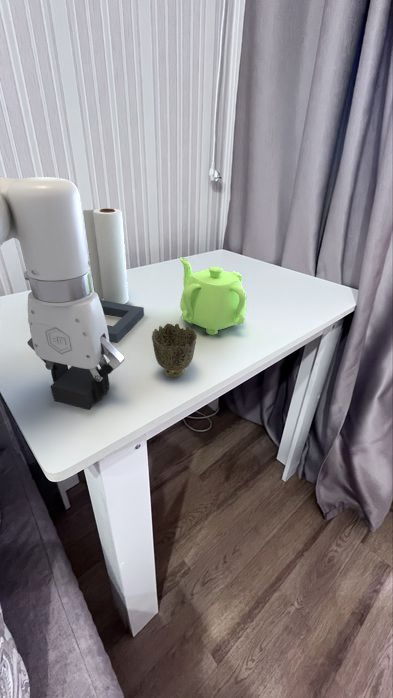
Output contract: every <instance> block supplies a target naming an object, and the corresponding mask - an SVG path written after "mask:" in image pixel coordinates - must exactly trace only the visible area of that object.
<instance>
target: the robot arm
mask: <svg viewBox="0 0 393 698" xmlns="http://www.w3.org/2000/svg"><path fill="white" fill-rule="evenodd" d="M80 195H81V193H80V191H79V188H78V187H77V185H76V184H75V183H73V182H72V181H71V180H70V179H69V180H68V179H65V178H61V177H52V176H30V177H23V178H12V177H5V176H0V247H2V246H3V244H4V243H6V242H8V241H9V240H11V239H17V240H18V242H19V246H20V250H21V253H22V258H23V262H24V267H25V269H26V270H25V271H24V273H23V277H24V279H25V280H26V281H27V282H28V283H29V285H30V286H29V287H30V292H29V293H28V294H27V319H28V326H29V332H30V338H29V340H28V341H26V343H27V345H28V347H30V348H31V349H32V350H33V352H35V354H36V356H37V357H38V358H40V360H42V362H43V363H45V365H44V366H45V368H46V369H47V370H48V371H50V375H51V378H52V384H53V383H54V382H55V381H56V380H57V379H58V378H59V377H61V376H62V375H63V374H64V373H65V372H66V371H67V370H68V369H69V366H70V367H71V366H74V367H79V368H84V369H89V370H90V372H91V374H92V375H93V377H94V378H93V380H92V381H91V383H92V388H93V394H94V399H95V401H96V402H100V401H101V399H102V398H103V397H104V396H105V395H107V394H108V392H109V390H110V382H109V383H108V378H109V375H110V374H111V373H112V372H113V371H114V370H116V369H117V368H119V367H120V366H121V365H122V364H123V363H124V362H125V360H126V359H125V357H124V355H123V354H121V352H119V351H118V350H117V348H116V347H115V346H114V345H113V344H112V342H111V341H109V335H108V329H107V325H108V324H107V320H106V316H105V314H104V312H103V309H102V306H101V303H100V300H99V297H98V295H97V293H95V292H94V288H93V281H92V274H91V266H90V259H89V252H88V244H87V237H86V230H85V222H84V215H83V207H82V200H81V196H80ZM106 358H107V359H108V360H109V361H107V359H106ZM98 365H99V367H100V368H99V367H98Z"/></svg>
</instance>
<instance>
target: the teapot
mask: <svg viewBox="0 0 393 698" xmlns="http://www.w3.org/2000/svg"><path fill="white" fill-rule="evenodd" d="M179 260H180V262H181V264H182V266H183V290H182V292H181V298H180V302H179V303H180V305H179V307H180V310H181V312H182V313H181V318H182V320H183V321H186V322H187V323H189V324H191V325H196V326H198V327H201V328H204V329H206V330H205V332H206V333H207V334H208V335H210V336H211V335H212V336H213V335H217V334H218V333H219V331H218V330H223V329H227V328H230V327H234V326H237V325H242V324H243V323H244V322H245V320H246V319H245V316H246V314H247V294H246V291H245V290H244V287H243V284H242V281H243V278H242V277H243V276H242V275H241V273H240V272H238V271H231V272H229V271H226V270H224V269H223V268H222V267H221V266H220V267H219V266H211V267H209V268H207V269H202V270H199V271H195V272H194V273H193V269H192V266H191V263H190V262H189V261H188V260H187V259H186V258H184V257H179ZM206 333H205V334H206Z"/></svg>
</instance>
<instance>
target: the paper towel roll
mask: <svg viewBox="0 0 393 698" xmlns="http://www.w3.org/2000/svg"><path fill="white" fill-rule="evenodd" d="M82 214H83V221H84V228H85V235H86V242H87V250H88V257H89V264H90V271H91V278H92V286H93V292H95V293H97V295H98V297H99V300H103V301H109V302H114V303H120V304H126V305H127V303H128V302H129V287H128V285H129V284H128V273H127V261H126V246H125V235H124V221H123V211H122V210H121V209H118V208H108V207H107V208H94V209H82Z"/></svg>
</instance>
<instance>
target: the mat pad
mask: <svg viewBox="0 0 393 698" xmlns="http://www.w3.org/2000/svg"><path fill="white" fill-rule="evenodd" d="M100 303H101V306H102V309H103V312H104V315H106V316H113V317H118V318H120V319H119V320H118V321H116V322H115V324H113V325H110V324H106V325H107V329H108V335H109V342H110V343H116V344H118V343H119V342H120V341H121V340H122V339H123V338H124V337H125V335H127V333H129V332H130V331H131V329H132V328H133V327H135V325H137V323H138V322H139V321H141V319H142V318H143V317H144V316H145V308H144V307H143V306H137V305H131V304H127V303H126V304H120V303H114V302H109V301H104V300H103V299H102V300H100Z"/></svg>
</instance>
